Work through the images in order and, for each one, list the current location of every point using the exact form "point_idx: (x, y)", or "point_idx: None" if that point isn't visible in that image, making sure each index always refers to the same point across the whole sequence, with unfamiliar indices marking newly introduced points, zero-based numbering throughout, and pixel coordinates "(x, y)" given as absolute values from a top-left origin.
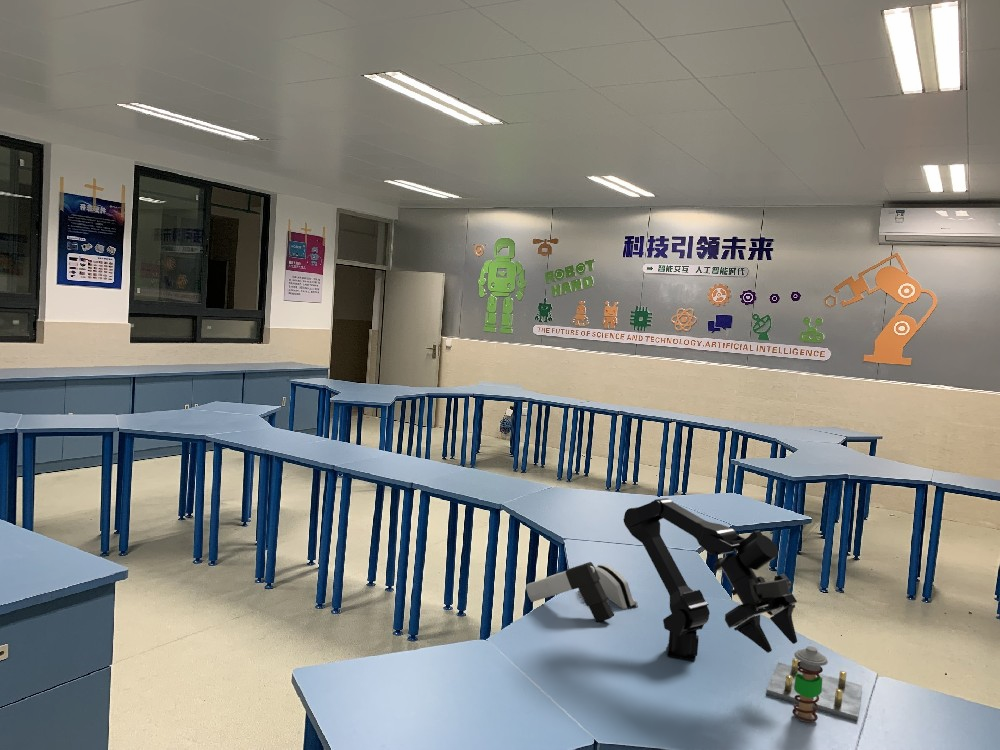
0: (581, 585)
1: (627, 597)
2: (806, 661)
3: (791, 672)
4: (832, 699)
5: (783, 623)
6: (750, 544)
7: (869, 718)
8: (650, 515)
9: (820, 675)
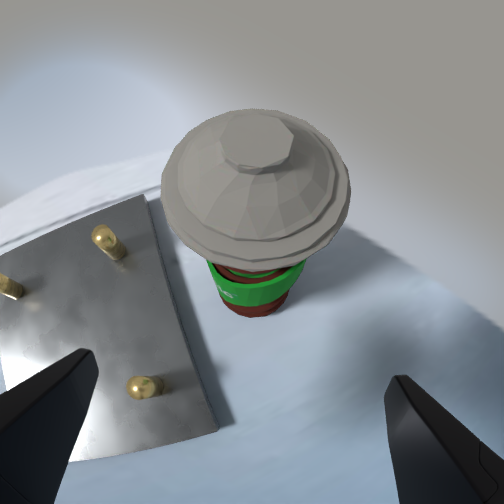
0: None
1: None
2: (339, 165)
3: None
4: (101, 272)
5: (24, 475)
6: None
7: (107, 195)
8: None
9: (6, 351)
